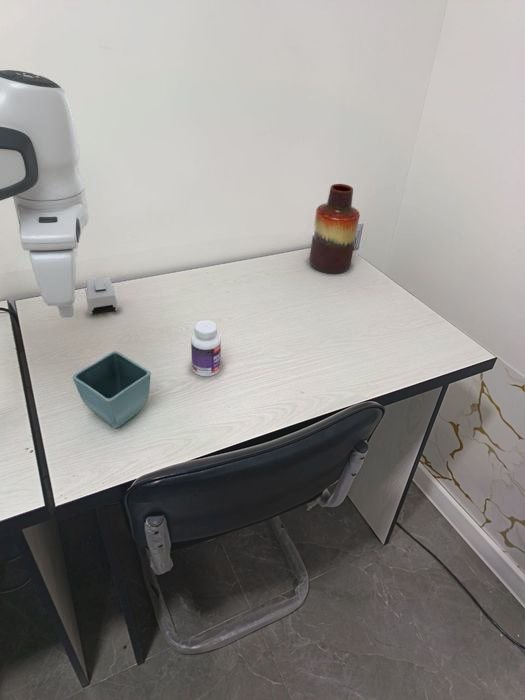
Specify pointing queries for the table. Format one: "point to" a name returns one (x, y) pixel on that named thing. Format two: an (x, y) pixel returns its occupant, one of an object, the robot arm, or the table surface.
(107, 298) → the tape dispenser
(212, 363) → the pill bottle
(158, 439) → the table surface
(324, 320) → the table surface
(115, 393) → the flower pot
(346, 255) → the vase
